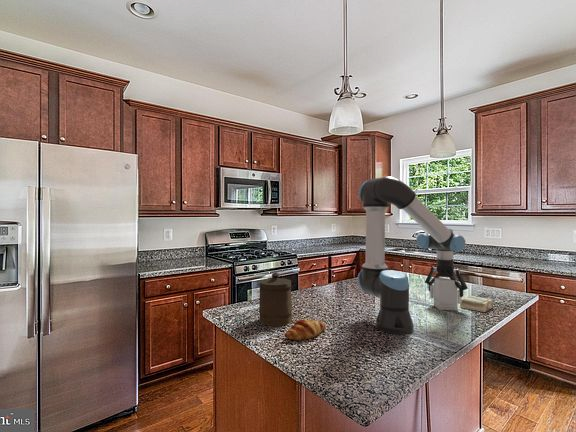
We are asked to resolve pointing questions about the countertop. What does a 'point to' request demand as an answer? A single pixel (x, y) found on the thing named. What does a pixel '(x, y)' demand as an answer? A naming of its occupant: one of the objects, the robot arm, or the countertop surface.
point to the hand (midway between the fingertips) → (445, 300)
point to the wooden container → (275, 301)
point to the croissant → (305, 329)
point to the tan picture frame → (476, 303)
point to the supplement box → (445, 294)
